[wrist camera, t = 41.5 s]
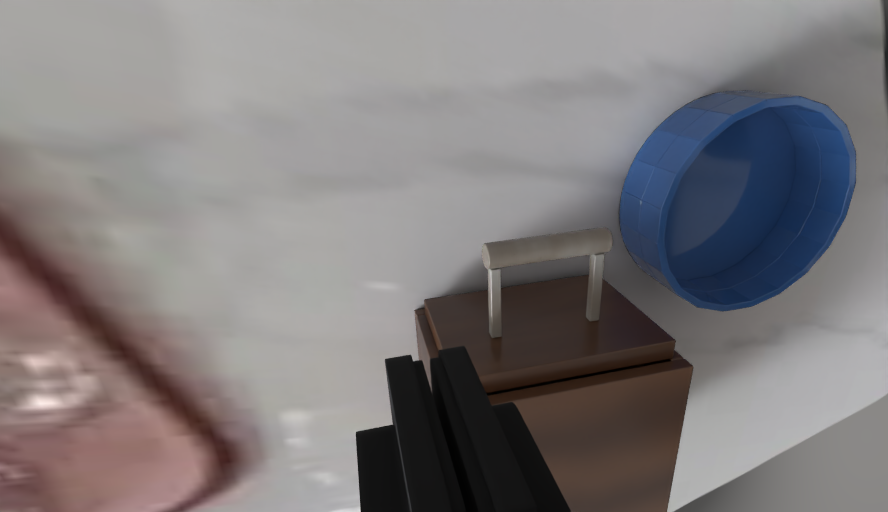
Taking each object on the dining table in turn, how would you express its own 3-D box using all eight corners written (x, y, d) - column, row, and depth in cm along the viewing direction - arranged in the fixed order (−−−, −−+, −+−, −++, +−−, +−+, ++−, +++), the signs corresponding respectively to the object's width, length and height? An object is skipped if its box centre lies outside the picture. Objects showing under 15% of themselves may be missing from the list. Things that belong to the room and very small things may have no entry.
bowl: (629, 99, 31) (674, 107, 27) (817, 83, 33) (884, 88, 29) (610, 294, 37) (645, 325, 33) (772, 268, 39) (823, 294, 35)
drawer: (417, 217, 30) (448, 278, 22) (603, 195, 32) (692, 243, 24) (438, 471, 39) (465, 580, 31) (583, 440, 41) (644, 535, 33)
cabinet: (414, 309, 34) (447, 414, 24) (597, 281, 36) (694, 366, 26) (430, 484, 40) (461, 621, 31) (583, 451, 43) (656, 568, 33)
